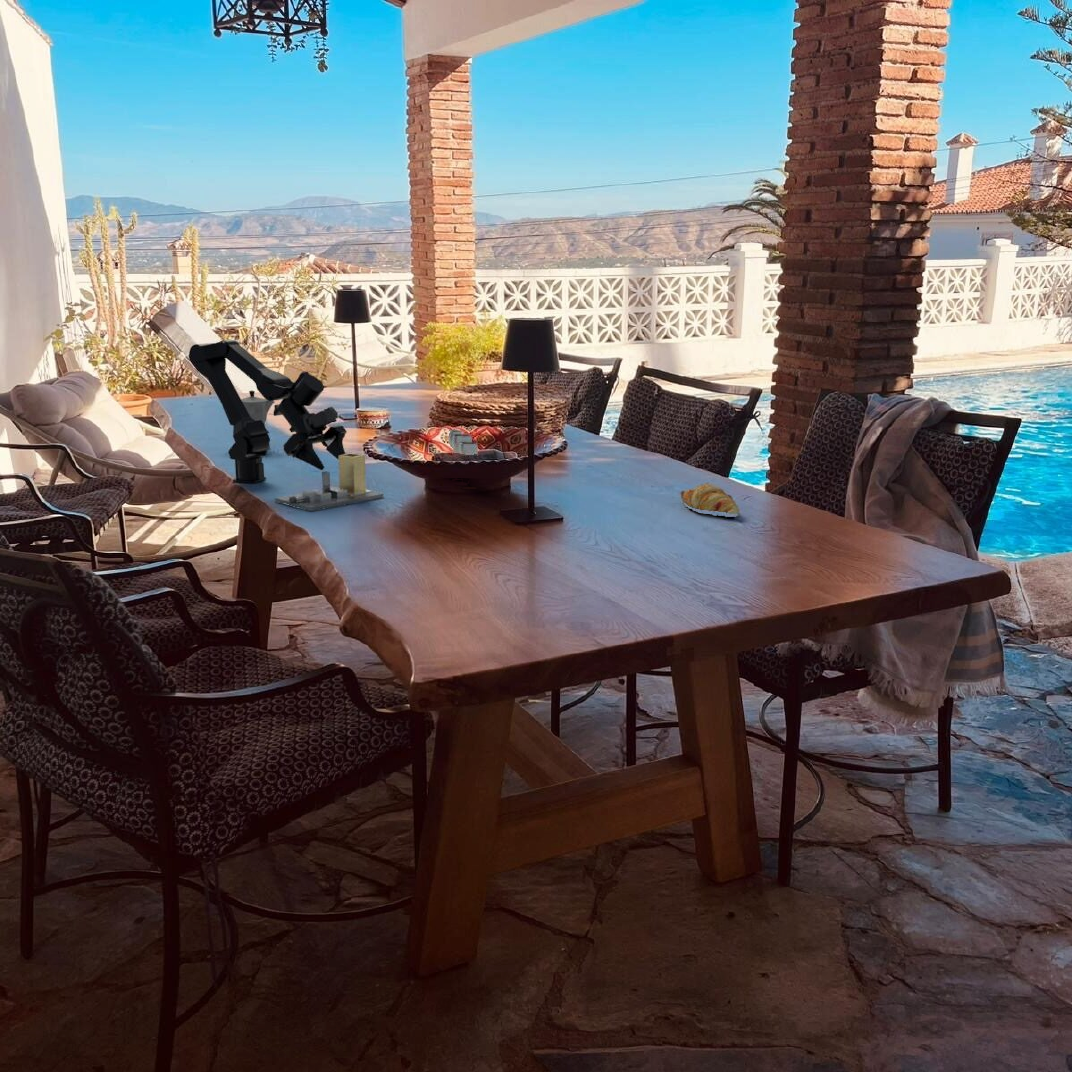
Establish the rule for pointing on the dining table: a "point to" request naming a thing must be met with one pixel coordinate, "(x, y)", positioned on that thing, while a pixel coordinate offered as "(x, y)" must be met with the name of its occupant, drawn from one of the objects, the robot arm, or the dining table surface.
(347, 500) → the grey base plate
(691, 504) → the croissant
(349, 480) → the sleeve
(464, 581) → the dining table surface
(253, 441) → the robot arm
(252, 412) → the coffeepot
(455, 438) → the goblet set
